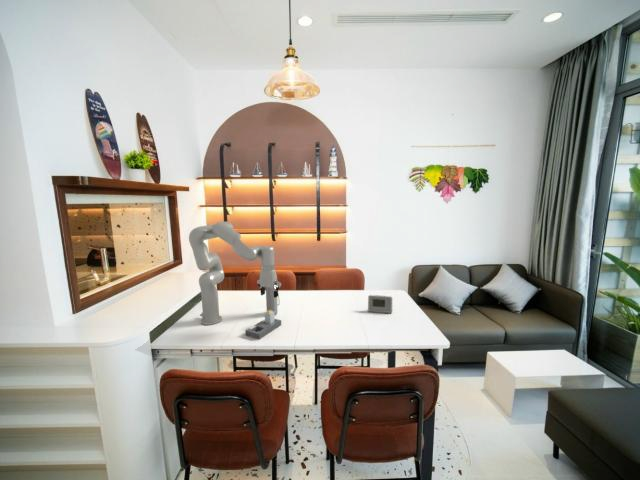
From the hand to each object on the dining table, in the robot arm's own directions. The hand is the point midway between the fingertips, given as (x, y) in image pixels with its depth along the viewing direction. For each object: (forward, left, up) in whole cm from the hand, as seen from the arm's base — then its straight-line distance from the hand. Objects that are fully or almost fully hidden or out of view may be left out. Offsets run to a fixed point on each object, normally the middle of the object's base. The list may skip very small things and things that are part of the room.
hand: (269, 295), depth 162 cm
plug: (0, 0, -19) cm, 19 cm away
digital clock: (+53, +51, -19) cm, 76 cm away
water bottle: (-10, +16, -19) cm, 27 cm away
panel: (0, -6, -19) cm, 20 cm away
